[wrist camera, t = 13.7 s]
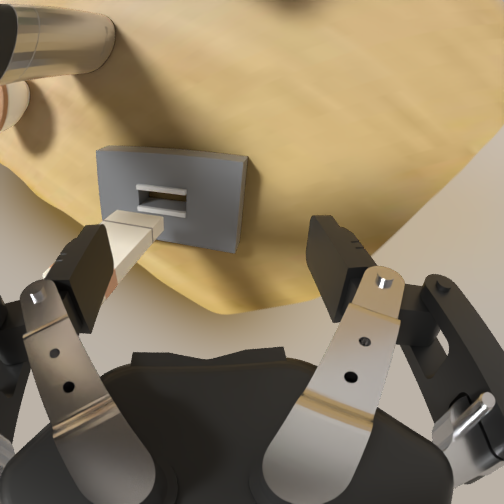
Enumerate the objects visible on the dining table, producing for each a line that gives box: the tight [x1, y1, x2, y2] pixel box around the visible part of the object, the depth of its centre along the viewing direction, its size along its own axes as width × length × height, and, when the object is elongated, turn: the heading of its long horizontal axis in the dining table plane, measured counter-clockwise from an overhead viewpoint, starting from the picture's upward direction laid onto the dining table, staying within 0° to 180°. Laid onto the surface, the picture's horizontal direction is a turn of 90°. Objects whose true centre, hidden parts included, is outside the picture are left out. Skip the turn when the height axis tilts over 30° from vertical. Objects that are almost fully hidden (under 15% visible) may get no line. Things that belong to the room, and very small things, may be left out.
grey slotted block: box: [96, 146, 248, 253], centre depth 38 cm, size 20×12×4 cm, turn 84°
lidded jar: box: [0, 81, 30, 133], centre depth 30 cm, size 11×11×9 cm
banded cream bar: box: [43, 210, 164, 305], centre depth 26 cm, size 6×2×13 cm, turn 84°
